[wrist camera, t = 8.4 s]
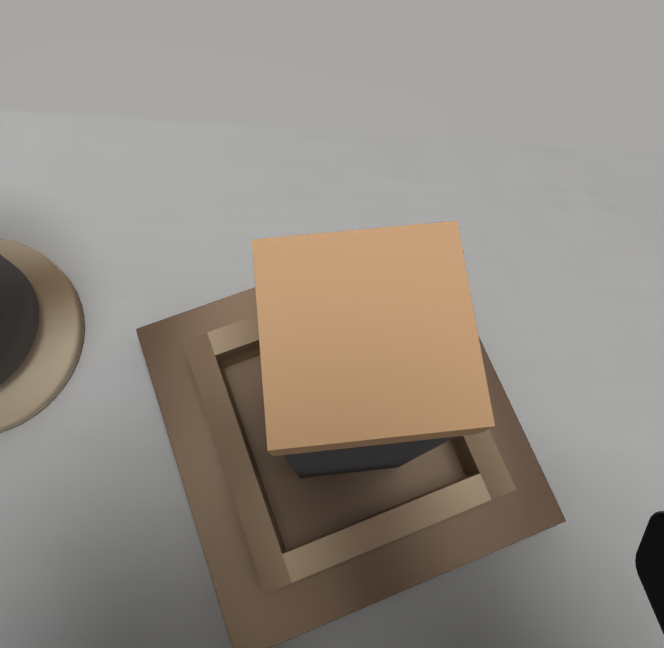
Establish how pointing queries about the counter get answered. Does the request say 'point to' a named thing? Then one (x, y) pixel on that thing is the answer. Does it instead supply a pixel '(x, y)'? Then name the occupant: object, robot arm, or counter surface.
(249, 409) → the square recessed board
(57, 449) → the counter surface
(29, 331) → the bobbin
